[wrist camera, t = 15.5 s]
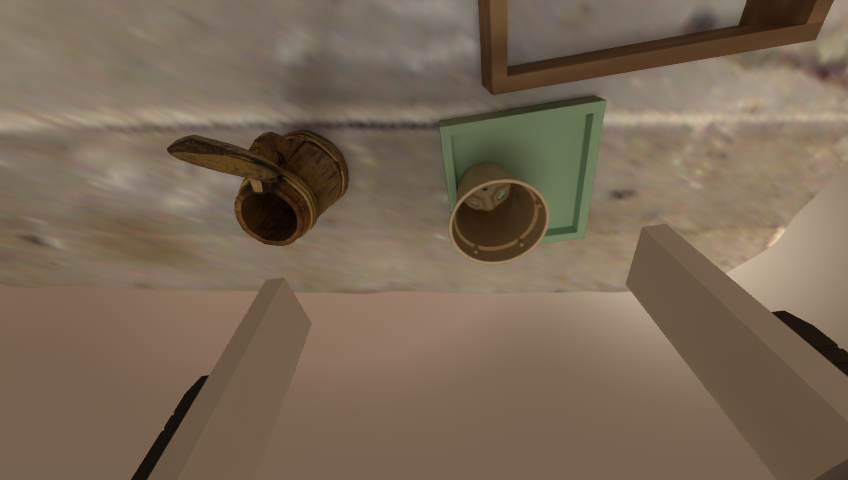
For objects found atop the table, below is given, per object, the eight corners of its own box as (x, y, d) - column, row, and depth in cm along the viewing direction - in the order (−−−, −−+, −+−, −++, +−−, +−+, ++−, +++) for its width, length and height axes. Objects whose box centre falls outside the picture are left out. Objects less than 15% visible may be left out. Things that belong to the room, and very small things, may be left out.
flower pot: (516, 222, 39) (536, 266, 31) (441, 221, 39) (445, 264, 31) (533, 148, 33) (562, 180, 26) (446, 146, 33) (452, 177, 26)
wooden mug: (348, 92, 31) (275, 148, 16) (349, 208, 39) (300, 318, 24) (258, 80, 31) (100, 126, 16) (277, 200, 38) (182, 307, 23)
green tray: (438, 121, 33) (439, 127, 31) (594, 95, 31) (606, 100, 29) (454, 242, 42) (455, 253, 40) (576, 227, 40) (584, 238, 38)
